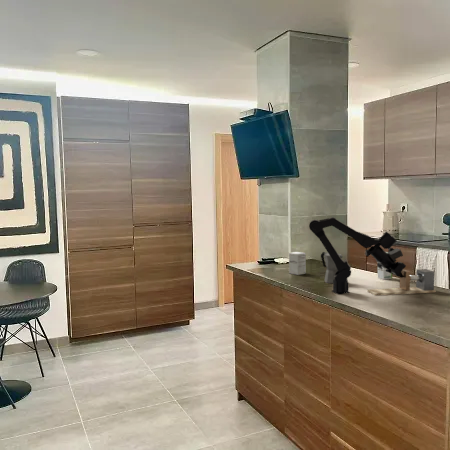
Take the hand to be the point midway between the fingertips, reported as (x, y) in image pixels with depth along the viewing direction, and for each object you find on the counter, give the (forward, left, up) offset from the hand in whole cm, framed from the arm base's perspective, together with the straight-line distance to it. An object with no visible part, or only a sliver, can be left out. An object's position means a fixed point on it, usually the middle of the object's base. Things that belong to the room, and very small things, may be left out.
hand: (402, 277), depth 216 cm
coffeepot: (-19, +34, -7) cm, 40 cm away
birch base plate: (0, 0, -7) cm, 7 cm away
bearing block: (+12, -2, -6) cm, 13 cm away
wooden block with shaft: (+6, -1, -6) cm, 9 cm away
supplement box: (-26, +62, -7) cm, 68 cm away
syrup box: (+12, +30, -7) cm, 34 cm away
